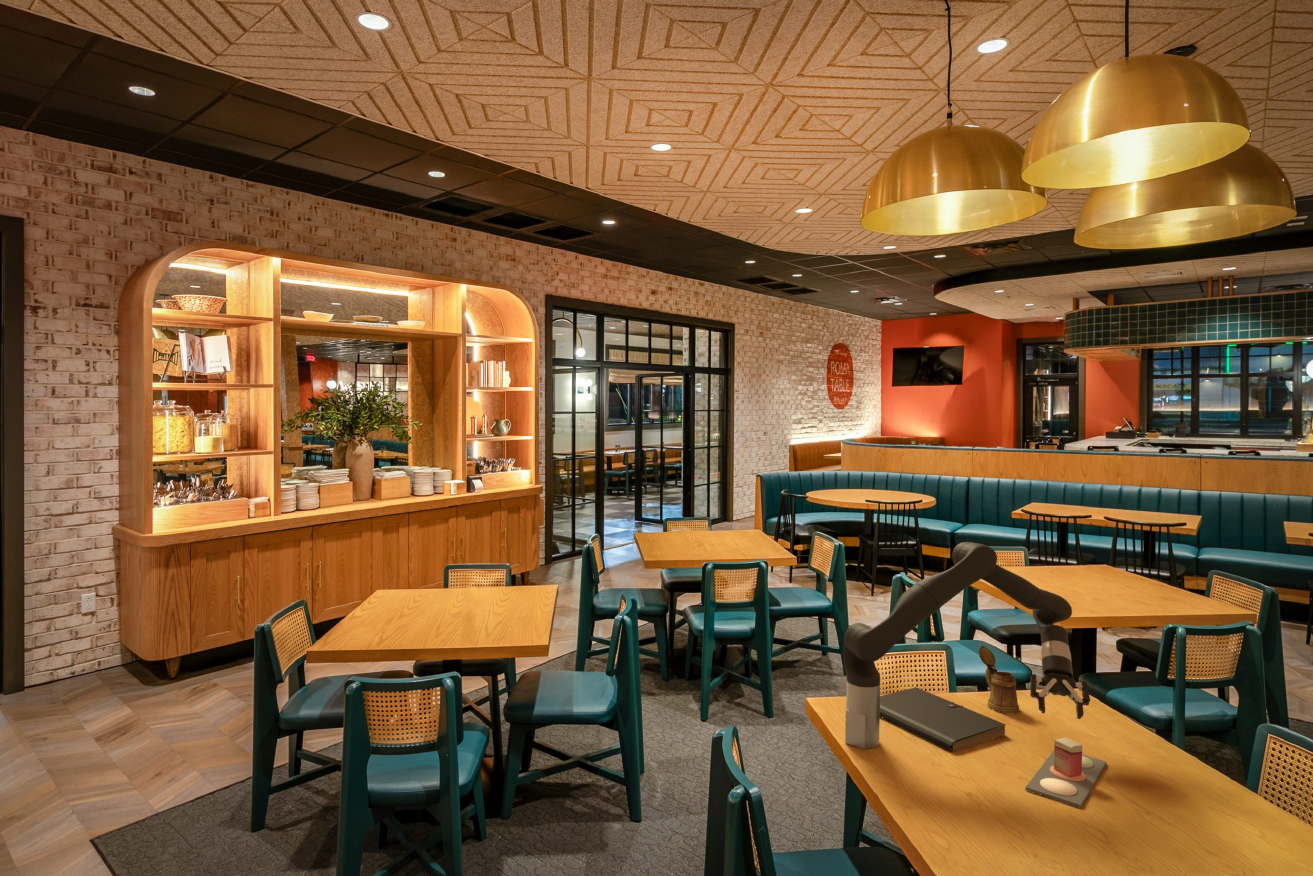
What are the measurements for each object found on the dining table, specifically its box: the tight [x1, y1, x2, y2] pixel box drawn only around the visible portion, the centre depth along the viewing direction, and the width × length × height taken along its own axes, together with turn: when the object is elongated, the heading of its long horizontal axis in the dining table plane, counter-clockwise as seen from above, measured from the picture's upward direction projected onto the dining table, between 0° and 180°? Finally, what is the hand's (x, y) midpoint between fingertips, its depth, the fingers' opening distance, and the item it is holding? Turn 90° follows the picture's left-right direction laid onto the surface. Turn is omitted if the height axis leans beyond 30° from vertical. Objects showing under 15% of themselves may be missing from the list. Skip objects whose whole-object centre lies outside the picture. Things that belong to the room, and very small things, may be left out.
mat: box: [1025, 750, 1107, 809], centre depth 181 cm, size 30×12×1 cm, turn 137°
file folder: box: [880, 686, 1007, 753], centre depth 214 cm, size 33×4×24 cm
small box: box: [1053, 736, 1083, 777], centre depth 181 cm, size 5×4×8 cm
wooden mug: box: [978, 644, 1020, 714], centre depth 227 cm, size 9×14×18 cm, turn 24°
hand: (1061, 715), depth 191 cm, fingers open, 8 cm apart
